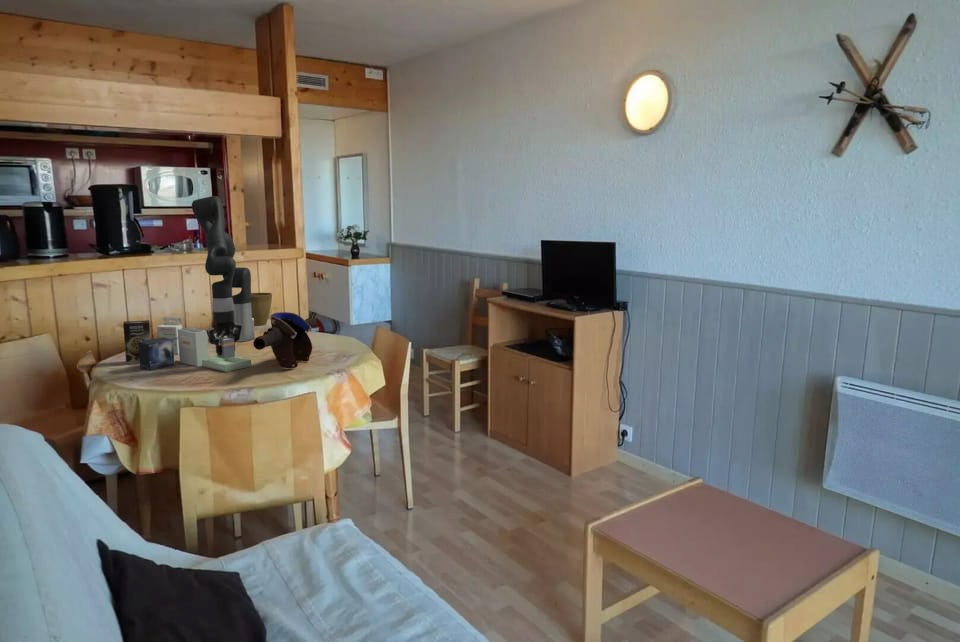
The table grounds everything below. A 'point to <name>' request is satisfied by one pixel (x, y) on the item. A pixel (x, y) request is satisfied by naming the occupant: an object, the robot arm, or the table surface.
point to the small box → (156, 353)
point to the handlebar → (288, 338)
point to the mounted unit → (193, 346)
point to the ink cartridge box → (170, 331)
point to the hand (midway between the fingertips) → (225, 353)
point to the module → (227, 348)
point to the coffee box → (135, 339)
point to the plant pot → (260, 307)
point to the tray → (226, 363)
